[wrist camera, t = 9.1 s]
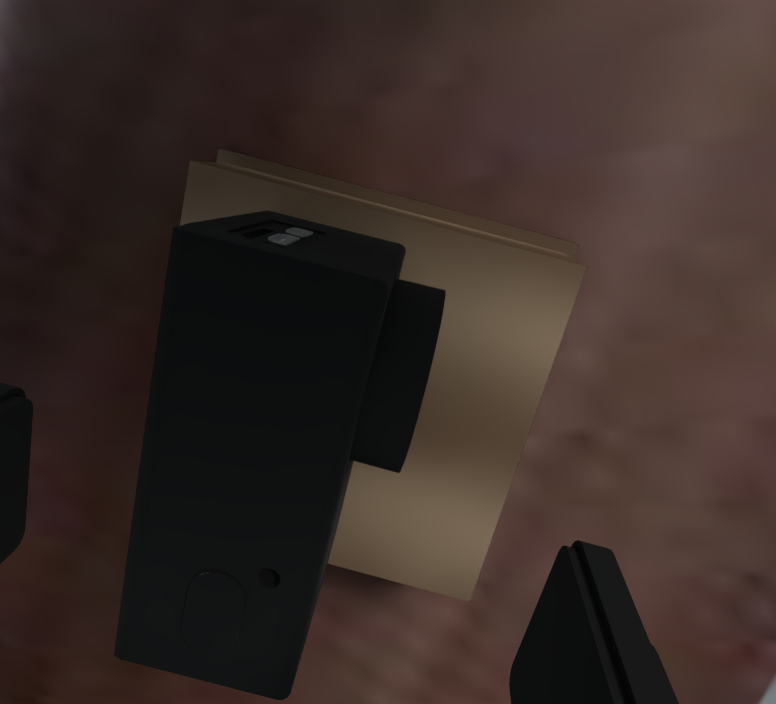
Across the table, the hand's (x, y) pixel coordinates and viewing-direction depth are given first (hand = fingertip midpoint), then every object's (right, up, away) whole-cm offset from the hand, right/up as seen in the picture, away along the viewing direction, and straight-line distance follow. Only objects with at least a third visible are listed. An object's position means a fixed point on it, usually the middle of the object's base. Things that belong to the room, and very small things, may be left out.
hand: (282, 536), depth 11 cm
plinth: (+1, +3, +13) cm, 13 cm away
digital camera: (0, +2, +9) cm, 10 cm away
